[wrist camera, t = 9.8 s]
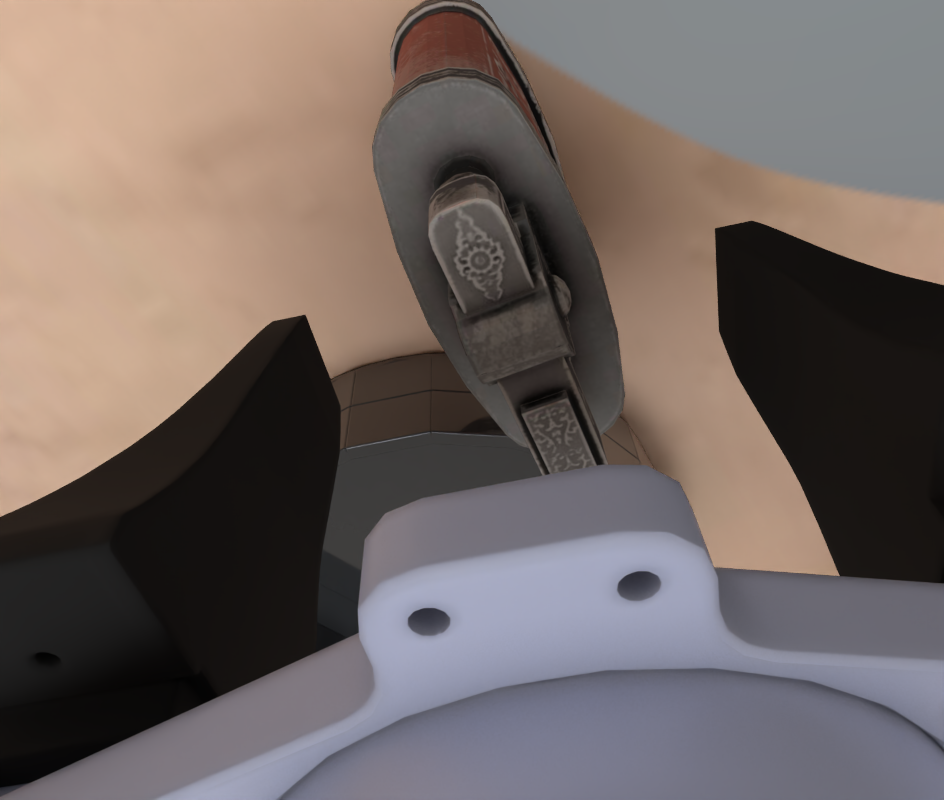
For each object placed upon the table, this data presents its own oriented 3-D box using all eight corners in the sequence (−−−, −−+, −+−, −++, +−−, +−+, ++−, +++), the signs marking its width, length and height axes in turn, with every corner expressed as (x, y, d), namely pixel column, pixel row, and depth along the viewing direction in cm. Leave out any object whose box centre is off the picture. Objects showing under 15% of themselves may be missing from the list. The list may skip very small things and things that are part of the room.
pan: (636, 308, 24) (668, 384, 21) (670, 624, 32) (697, 713, 29) (163, 405, 25) (123, 491, 22) (316, 683, 34) (304, 774, 31)
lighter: (360, 31, 19) (305, 186, 11) (492, -32, 18) (538, 84, 10) (487, 304, 24) (514, 558, 15) (597, 262, 23) (686, 504, 15)
